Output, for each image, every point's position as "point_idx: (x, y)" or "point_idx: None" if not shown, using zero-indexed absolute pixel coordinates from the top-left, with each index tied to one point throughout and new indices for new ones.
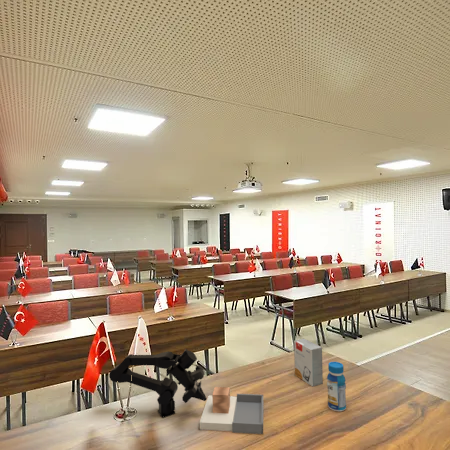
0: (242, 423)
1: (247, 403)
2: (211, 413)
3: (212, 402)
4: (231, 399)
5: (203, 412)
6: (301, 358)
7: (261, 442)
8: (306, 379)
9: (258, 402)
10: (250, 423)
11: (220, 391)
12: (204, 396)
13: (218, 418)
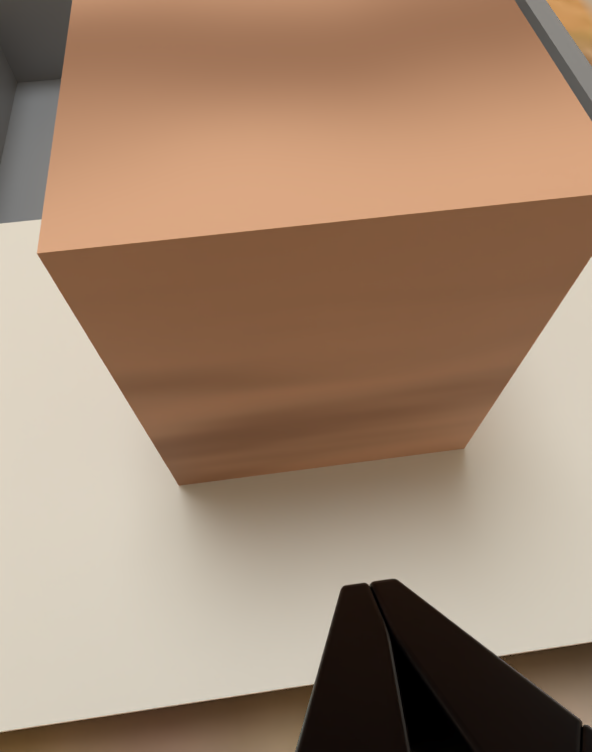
0: (584, 59)
1: (27, 179)
2: (494, 465)
3: (121, 559)
4: (18, 277)
5: (529, 635)
6: None
7: (586, 41)
8: None
9: (11, 103)
10: (547, 11)
11: (331, 61)
12: (434, 635)
13: (575, 326)
